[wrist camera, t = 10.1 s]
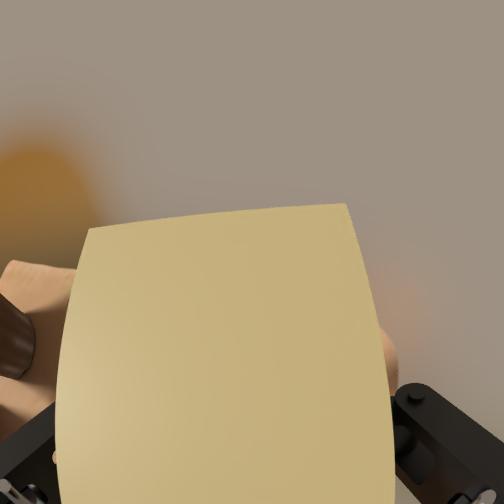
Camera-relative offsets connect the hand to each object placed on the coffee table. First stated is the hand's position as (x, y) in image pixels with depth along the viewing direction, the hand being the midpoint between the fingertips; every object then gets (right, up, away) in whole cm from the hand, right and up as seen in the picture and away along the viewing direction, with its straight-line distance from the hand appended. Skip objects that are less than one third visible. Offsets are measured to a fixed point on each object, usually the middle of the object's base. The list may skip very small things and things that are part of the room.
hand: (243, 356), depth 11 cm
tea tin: (+1, -5, +4) cm, 6 cm away
